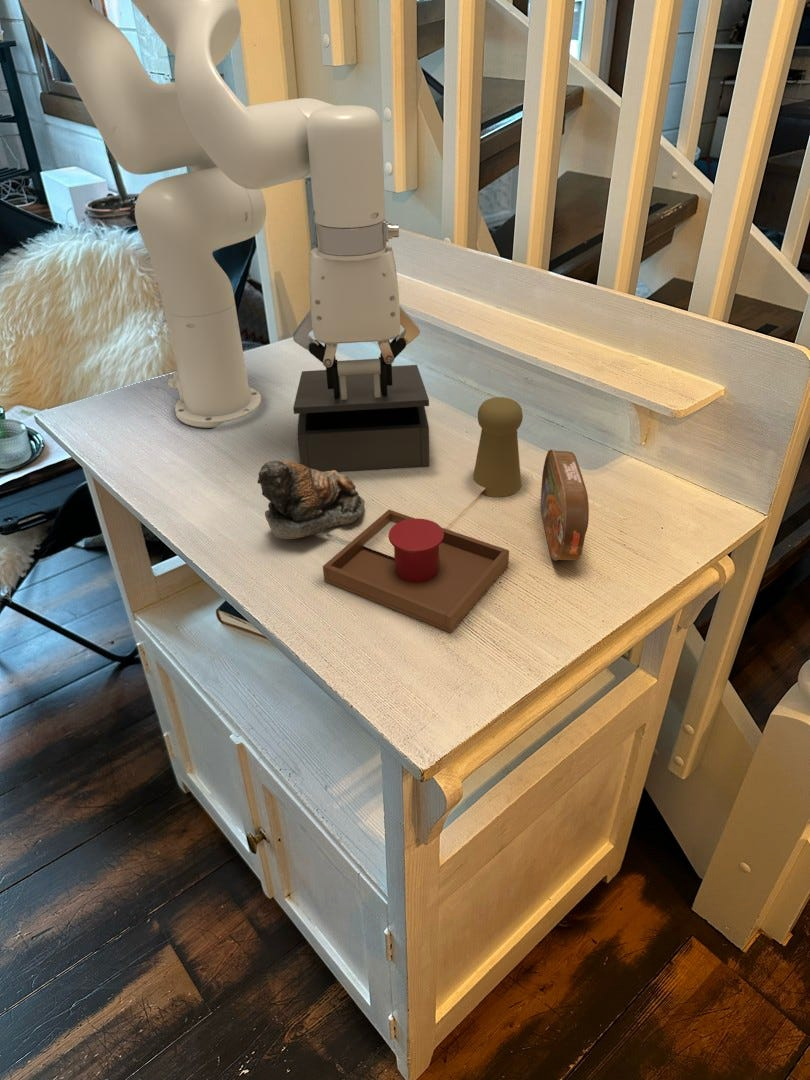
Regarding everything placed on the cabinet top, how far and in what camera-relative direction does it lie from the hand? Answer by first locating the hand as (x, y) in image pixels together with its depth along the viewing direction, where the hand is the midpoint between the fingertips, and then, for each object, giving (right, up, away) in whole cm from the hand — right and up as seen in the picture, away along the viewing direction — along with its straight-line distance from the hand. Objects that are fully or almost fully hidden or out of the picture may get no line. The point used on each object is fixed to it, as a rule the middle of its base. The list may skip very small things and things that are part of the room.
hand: (360, 390), depth 93 cm
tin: (+23, -18, -8) cm, 30 cm away
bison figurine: (-4, -17, -6) cm, 19 cm away
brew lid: (0, +1, +5) cm, 5 cm away
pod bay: (0, -5, +10) cm, 11 cm away
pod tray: (+7, -22, -13) cm, 26 cm away
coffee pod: (+7, -21, -13) cm, 26 cm away
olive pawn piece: (+17, -12, +1) cm, 20 cm away
